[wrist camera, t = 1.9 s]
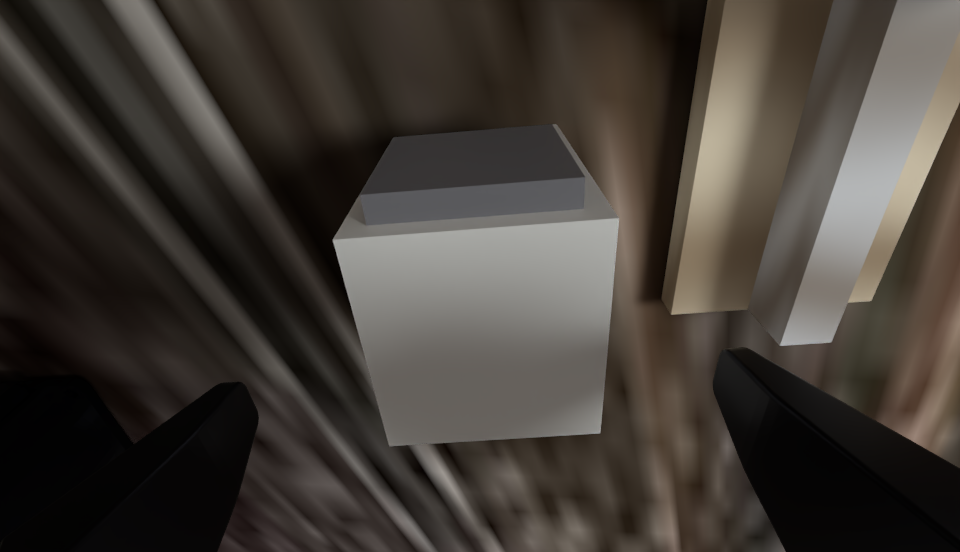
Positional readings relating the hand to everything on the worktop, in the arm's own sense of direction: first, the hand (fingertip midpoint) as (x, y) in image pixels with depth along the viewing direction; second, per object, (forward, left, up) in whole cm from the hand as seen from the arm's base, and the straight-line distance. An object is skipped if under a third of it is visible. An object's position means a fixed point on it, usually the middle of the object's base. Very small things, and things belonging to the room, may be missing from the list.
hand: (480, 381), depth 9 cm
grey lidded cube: (0, 0, -8) cm, 8 cm away
